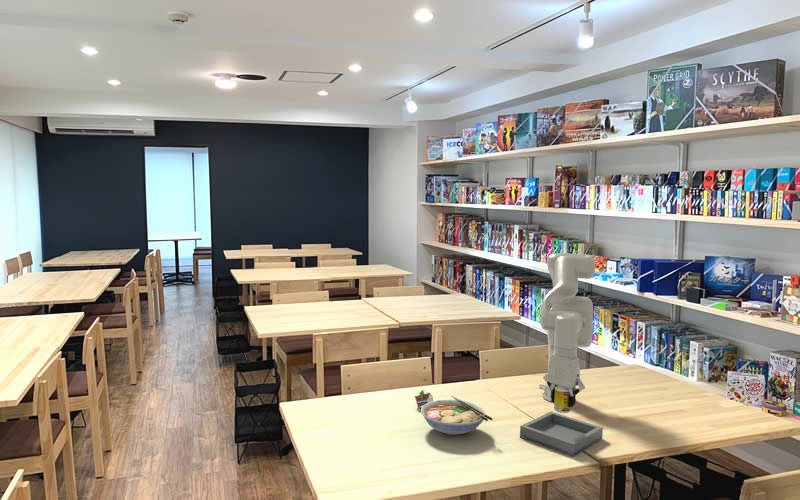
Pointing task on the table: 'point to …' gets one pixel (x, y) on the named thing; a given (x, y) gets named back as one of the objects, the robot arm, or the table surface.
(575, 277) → the robot arm
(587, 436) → the tray
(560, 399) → the supplement bottle
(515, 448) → the table surface
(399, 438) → the table surface
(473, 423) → the ramen bowl
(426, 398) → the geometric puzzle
